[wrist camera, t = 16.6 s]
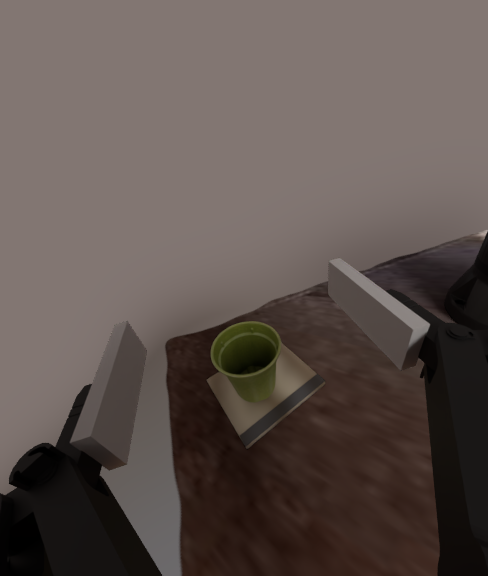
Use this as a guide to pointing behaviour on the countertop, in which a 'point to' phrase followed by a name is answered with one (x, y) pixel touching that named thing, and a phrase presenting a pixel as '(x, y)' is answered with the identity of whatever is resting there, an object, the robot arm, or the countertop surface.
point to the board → (269, 412)
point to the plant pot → (248, 358)
